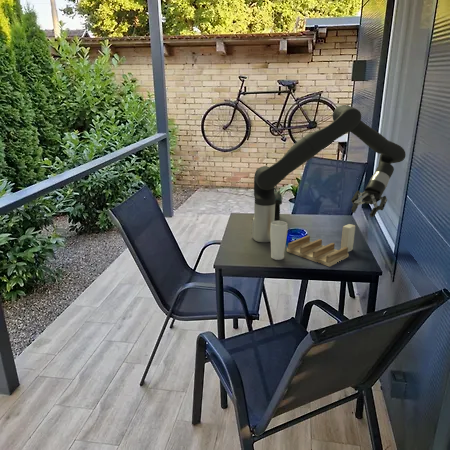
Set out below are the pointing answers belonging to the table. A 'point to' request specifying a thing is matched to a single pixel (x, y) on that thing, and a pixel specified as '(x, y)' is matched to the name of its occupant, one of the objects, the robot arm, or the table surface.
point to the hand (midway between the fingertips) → (361, 214)
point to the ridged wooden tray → (317, 251)
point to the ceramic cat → (277, 204)
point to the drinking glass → (278, 239)
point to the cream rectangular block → (348, 236)
